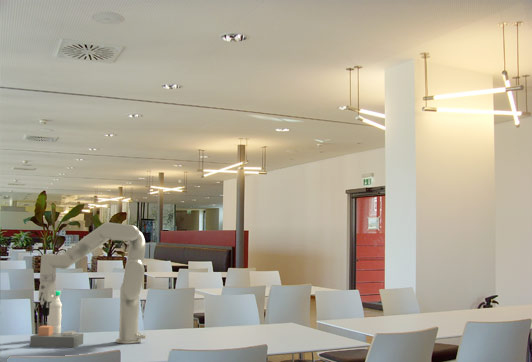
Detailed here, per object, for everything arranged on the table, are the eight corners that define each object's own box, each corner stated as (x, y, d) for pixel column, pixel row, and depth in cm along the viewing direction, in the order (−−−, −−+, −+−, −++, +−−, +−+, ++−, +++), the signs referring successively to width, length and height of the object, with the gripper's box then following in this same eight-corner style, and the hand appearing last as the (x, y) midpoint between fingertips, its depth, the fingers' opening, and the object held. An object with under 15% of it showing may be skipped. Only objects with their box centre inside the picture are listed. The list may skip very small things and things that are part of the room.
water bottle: (56, 340, 316) (57, 291, 318) (43, 340, 318) (45, 291, 320) (63, 338, 323) (65, 290, 325) (51, 338, 324) (52, 290, 327)
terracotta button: (52, 335, 307) (53, 325, 307) (48, 337, 302) (48, 327, 302) (43, 335, 307) (43, 325, 308) (38, 337, 302) (38, 327, 303)
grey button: (75, 341, 306) (76, 331, 306) (71, 343, 300) (72, 333, 301) (65, 341, 306) (66, 331, 306) (61, 343, 301) (61, 332, 301)
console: (83, 343, 309) (83, 333, 309) (73, 347, 297) (73, 337, 297) (41, 342, 311) (41, 332, 311) (30, 346, 299) (30, 336, 299)
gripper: (48, 279, 299) (45, 317, 298) (61, 277, 314) (58, 314, 312) (33, 279, 300) (31, 317, 298) (47, 277, 315) (44, 313, 313)
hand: (45, 315), depth 305 cm, fingers closed
